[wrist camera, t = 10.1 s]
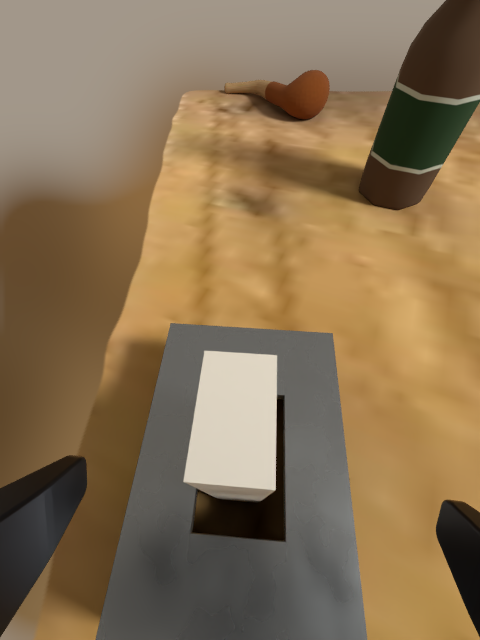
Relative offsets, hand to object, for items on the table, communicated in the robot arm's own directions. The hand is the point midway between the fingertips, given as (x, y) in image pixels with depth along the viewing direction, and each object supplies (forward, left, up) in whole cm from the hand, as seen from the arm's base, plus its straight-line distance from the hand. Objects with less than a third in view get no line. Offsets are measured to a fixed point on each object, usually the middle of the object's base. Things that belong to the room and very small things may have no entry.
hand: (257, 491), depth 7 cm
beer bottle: (+37, -3, -13) cm, 39 cm away
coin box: (+2, +1, -13) cm, 13 cm away
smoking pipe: (+52, +18, -13) cm, 57 cm away
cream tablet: (+2, +1, -13) cm, 13 cm away
